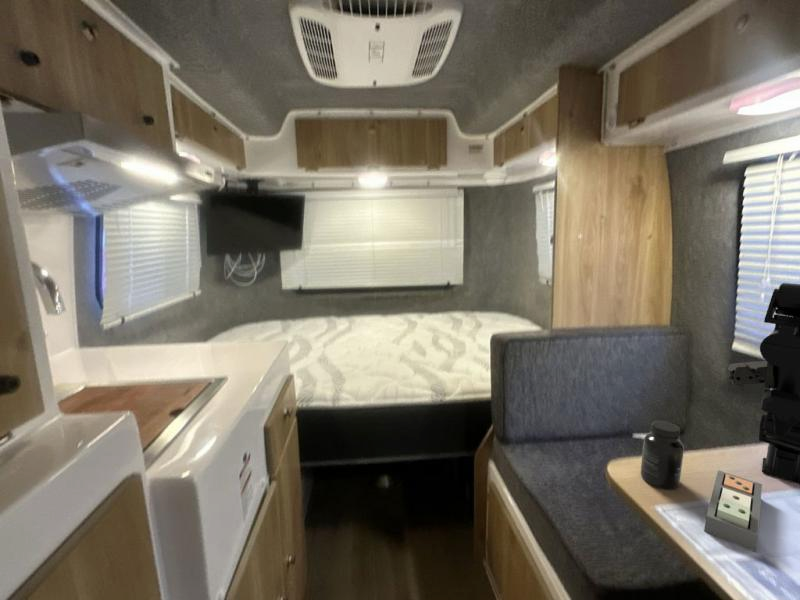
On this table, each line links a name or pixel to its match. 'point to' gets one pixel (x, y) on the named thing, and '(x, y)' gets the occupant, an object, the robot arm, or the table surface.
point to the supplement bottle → (662, 455)
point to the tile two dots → (733, 513)
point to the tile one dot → (736, 497)
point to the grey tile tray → (729, 529)
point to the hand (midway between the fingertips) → (779, 434)
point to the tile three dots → (738, 484)
